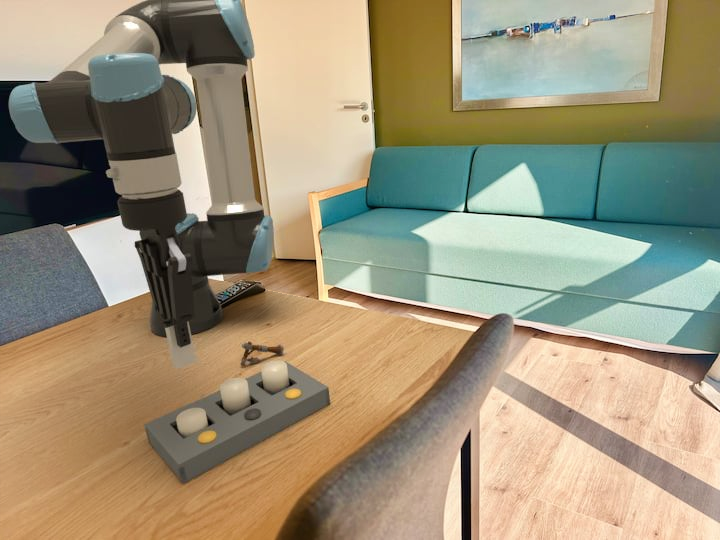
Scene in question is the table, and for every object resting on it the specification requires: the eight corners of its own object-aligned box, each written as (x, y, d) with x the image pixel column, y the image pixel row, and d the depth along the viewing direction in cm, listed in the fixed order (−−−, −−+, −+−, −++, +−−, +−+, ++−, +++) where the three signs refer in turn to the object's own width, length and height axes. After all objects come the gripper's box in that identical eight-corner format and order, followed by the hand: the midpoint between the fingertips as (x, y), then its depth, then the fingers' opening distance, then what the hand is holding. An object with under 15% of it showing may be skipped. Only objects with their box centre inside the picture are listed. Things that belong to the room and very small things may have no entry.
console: (148, 441, 74) (143, 422, 73) (286, 376, 89) (284, 359, 88) (183, 483, 66) (178, 462, 65) (330, 403, 80) (328, 385, 79)
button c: (259, 388, 82) (256, 367, 81) (280, 378, 84) (277, 357, 83) (272, 398, 79) (269, 376, 78) (294, 387, 82) (291, 366, 80)
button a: (176, 438, 74) (171, 416, 73) (202, 426, 76) (198, 404, 75) (188, 451, 71) (183, 428, 70) (214, 438, 74) (210, 415, 72)
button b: (219, 407, 78) (215, 385, 76) (242, 396, 80) (239, 374, 79) (231, 418, 75) (228, 395, 74) (255, 406, 77) (252, 384, 76)
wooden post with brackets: (234, 363, 93) (241, 339, 93) (274, 365, 98) (280, 343, 97) (238, 367, 92) (245, 342, 91) (278, 369, 96) (284, 346, 96)
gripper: (101, 192, 65) (140, 358, 73) (136, 204, 55) (177, 393, 63) (160, 182, 69) (190, 339, 77) (202, 192, 60) (232, 370, 68)
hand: (184, 363), depth 70 cm, fingers closed
